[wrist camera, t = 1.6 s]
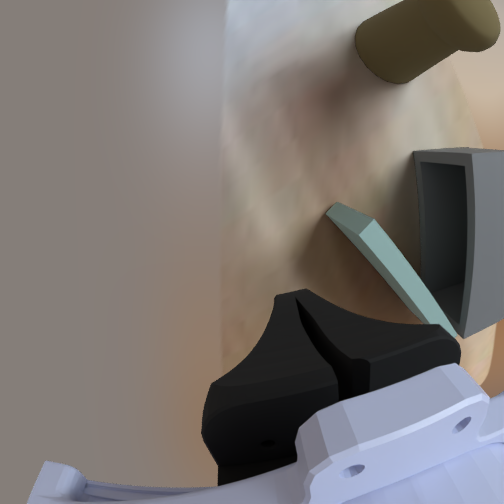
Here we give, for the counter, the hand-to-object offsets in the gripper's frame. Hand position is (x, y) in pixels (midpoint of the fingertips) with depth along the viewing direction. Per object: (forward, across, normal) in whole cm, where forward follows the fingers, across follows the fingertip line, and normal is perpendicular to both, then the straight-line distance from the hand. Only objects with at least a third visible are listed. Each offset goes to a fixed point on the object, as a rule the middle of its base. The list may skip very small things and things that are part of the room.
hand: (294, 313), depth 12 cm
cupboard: (+10, -16, +2) cm, 19 cm away
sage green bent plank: (+10, -8, +3) cm, 13 cm away
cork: (+10, -12, -14) cm, 21 cm away
